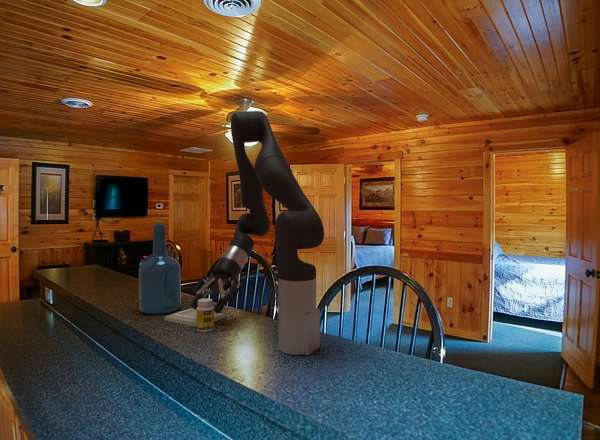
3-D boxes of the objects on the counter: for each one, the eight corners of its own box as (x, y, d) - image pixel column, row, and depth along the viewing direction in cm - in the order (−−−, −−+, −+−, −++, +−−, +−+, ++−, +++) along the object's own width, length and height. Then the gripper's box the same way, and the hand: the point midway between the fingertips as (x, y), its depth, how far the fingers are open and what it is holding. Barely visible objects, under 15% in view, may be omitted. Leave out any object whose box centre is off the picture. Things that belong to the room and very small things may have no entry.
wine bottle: (163, 303, 139) (162, 220, 138) (189, 308, 132) (188, 220, 131) (129, 312, 127) (127, 221, 126) (156, 318, 120) (154, 221, 119)
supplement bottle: (203, 333, 105) (203, 302, 105) (193, 330, 108) (192, 300, 108) (217, 329, 109) (217, 299, 109) (206, 326, 112) (206, 297, 112)
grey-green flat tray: (224, 317, 120) (224, 311, 120) (198, 327, 110) (198, 320, 110) (191, 312, 127) (191, 305, 127) (164, 320, 117) (164, 313, 117)
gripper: (207, 254, 119) (179, 299, 109) (243, 257, 112) (217, 305, 102) (219, 269, 124) (193, 313, 114) (255, 273, 117) (230, 320, 107)
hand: (204, 309), depth 108 cm, fingers open, 8 cm apart
